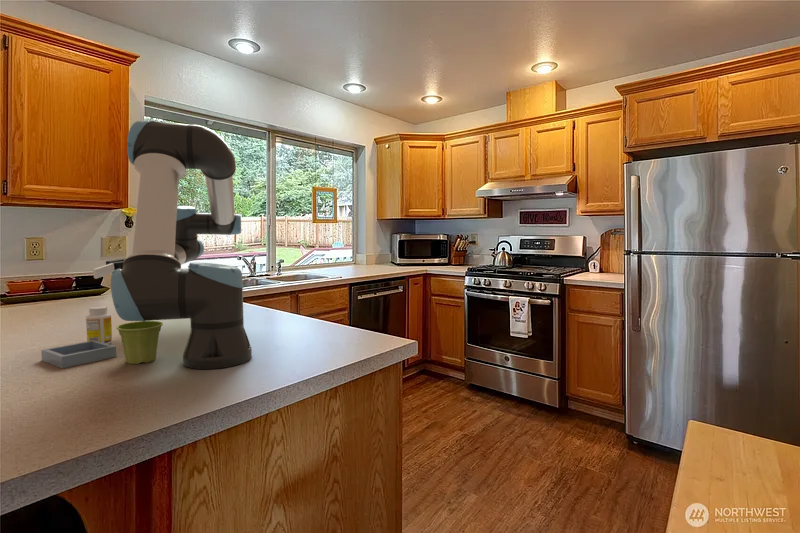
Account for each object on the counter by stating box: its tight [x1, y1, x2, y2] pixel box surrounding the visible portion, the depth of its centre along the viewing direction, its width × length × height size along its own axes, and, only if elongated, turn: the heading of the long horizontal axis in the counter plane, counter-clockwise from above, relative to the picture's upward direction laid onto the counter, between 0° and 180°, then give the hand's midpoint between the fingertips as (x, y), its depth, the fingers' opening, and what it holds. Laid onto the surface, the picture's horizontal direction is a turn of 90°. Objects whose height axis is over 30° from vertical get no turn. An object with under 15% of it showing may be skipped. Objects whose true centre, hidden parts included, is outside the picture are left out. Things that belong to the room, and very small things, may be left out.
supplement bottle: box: [85, 305, 113, 345], centre depth 113 cm, size 6×6×10 cm
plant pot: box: [116, 320, 164, 365], centre depth 98 cm, size 9×9×9 cm
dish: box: [41, 340, 117, 369], centre depth 100 cm, size 11×11×3 cm
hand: (116, 277), depth 117 cm, fingers open, 13 cm apart
